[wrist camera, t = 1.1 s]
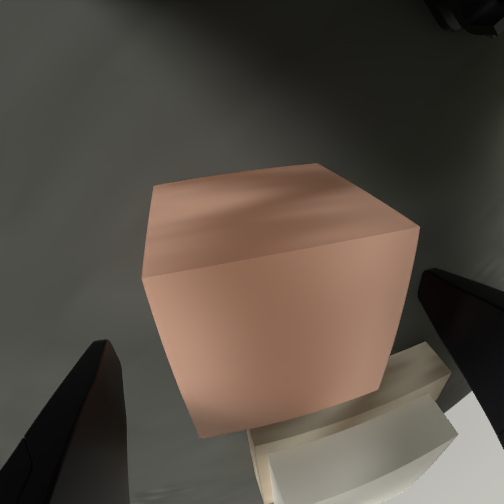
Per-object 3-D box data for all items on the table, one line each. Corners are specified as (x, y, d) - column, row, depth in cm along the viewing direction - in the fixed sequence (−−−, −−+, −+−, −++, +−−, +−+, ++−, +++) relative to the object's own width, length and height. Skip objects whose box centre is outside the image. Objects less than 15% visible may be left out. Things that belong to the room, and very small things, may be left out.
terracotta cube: (316, 162, 11) (419, 227, 6) (313, 292, 14) (378, 389, 9) (154, 185, 10) (141, 278, 5) (183, 318, 13) (200, 438, 8)
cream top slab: (428, 392, 16) (458, 434, 13) (389, 458, 21) (407, 489, 18) (267, 454, 14) (287, 511, 11) (273, 500, 19) (286, 537, 16)
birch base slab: (421, 336, 18) (451, 372, 15) (382, 427, 24) (399, 456, 21) (238, 392, 16) (254, 446, 13) (253, 469, 22) (264, 504, 19)
